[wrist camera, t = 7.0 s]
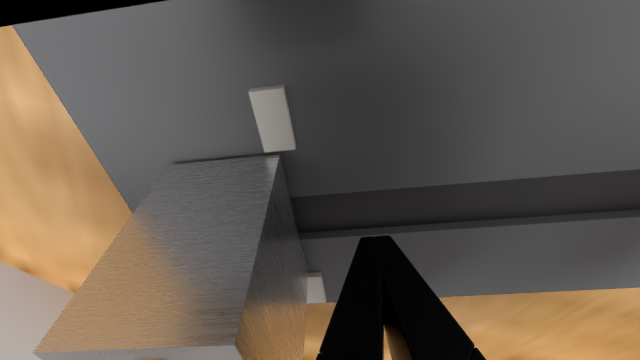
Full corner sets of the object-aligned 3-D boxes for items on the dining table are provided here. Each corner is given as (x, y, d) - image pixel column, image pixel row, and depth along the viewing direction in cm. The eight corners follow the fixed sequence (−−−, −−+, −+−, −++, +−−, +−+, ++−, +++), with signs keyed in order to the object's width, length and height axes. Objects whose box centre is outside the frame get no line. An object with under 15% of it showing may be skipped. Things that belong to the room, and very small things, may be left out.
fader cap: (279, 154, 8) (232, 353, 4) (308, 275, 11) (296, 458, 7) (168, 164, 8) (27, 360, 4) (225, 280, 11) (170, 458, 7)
